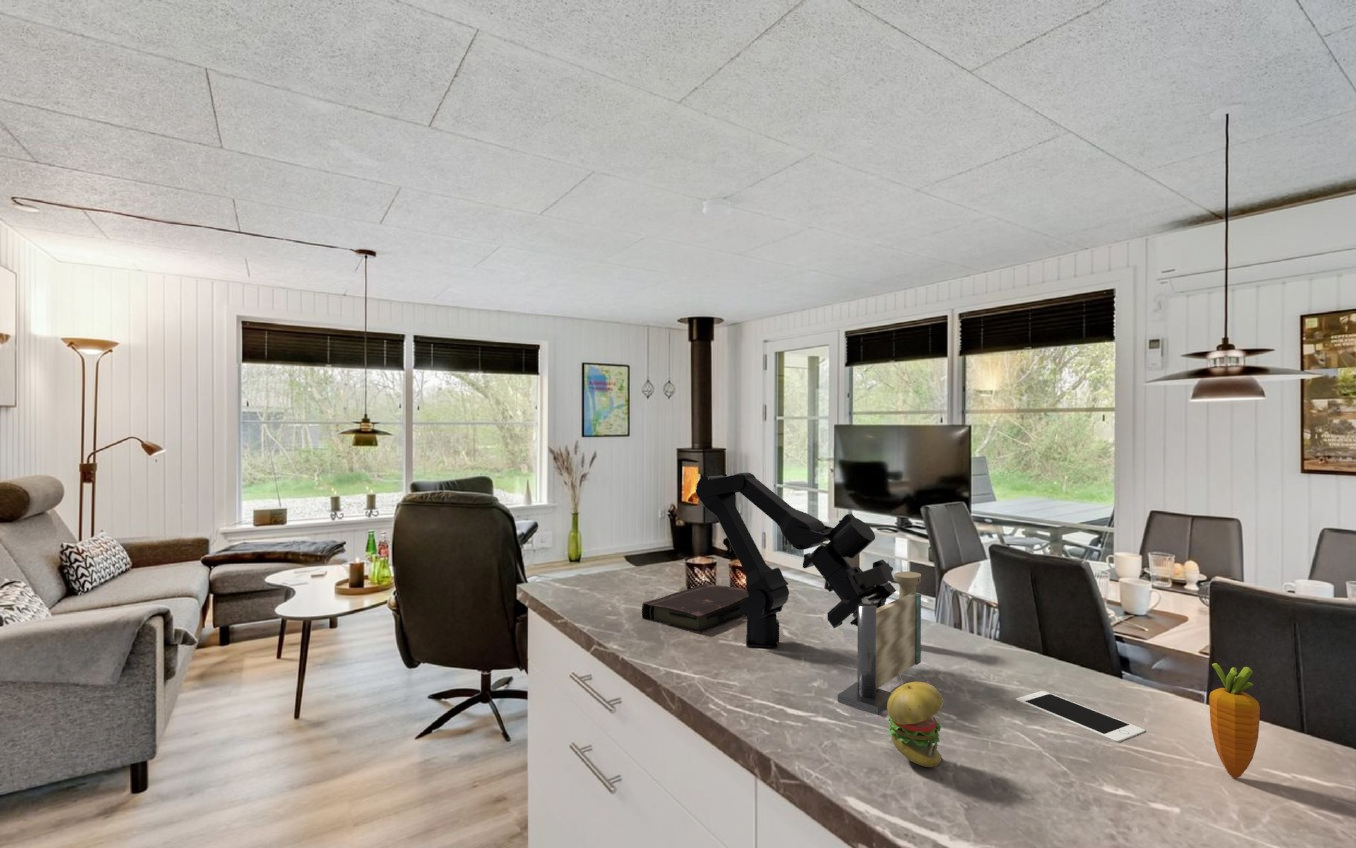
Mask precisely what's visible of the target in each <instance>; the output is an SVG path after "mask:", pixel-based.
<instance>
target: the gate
mask: <svg viewBox="0 0 1356 848" xmlns="http://www.w3.org/2000/svg"><path fill="white" fill-rule="evenodd" d="M921 643H922V593H919V592H918V593H917V592H916V593H913V592H911V593H909V594H908V595H907V596H904V597H902V598H900V599H899V598H898V599H895V600H893V601H890V602H888V603H885V605H884V606H881V607H879V608H877V609H876V689H880V688H881V687H882V686H884V685H885V684H887V683H888V682H890V681H892V680H893V679H896V677H897V676H900V675H901V674H903V673H904V672H906V671H908V670H909V669H910V668H913V667H914V666H918V665H919V664H921V662H922V661H921V659H922V657H921V656H922V655H921V654H922V650H921V649H922V648H921V647H922V644H921ZM899 673H900V675H899Z"/></svg>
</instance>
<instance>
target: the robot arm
mask: <svg viewBox="0 0 1356 848" xmlns="http://www.w3.org/2000/svg"><path fill="white" fill-rule="evenodd" d="M737 493H740V494H741V495H742V496H743V497H745V498H746V499H747V500H748V501H750V502H751V503H752V504H753V505H754V506H755V507H756V508H758V509H759V510H760V511H762V512H763V513H764V514H765V515H766V516H767V517H768V518H770V519H771V520H772V521H773V522H774V523H776V525H777V526H778V527H779V529H780V532H781V534H782V536H783V537H784V538H785V539H786V540H787V542H788V543H789V544H791V545H790V546H792V547H793V548H795V549H796V550H798V551H800V550H801V551H803V550H808V549H811V548H815V547H816V548H815V550H813V551H812V552H811V553H810V552H808V553H805V554H803V562H802V568H803V569H807V568H811V567H815V569H816V570H817V571H818V572H819V573H820V575H821V576H822V578H823V579H824V581H826V583H827V584H828V586H826V590H827V591H828V592H829V593H830V592H834V593H835V594H836V596H837V597H838V598H839V599H840V601H839V602H838V603H837V604H836V605H835V606H834V607H832V608H831V609H830V610H829V611H828V612H827V621H828V623H829V624H830V625H831V626H832V627H833V629H836V628H838V627H840V626H842V625H843V622H844V621H845V620H846V619H847V618H849V616H851V614H852V618H853V619H852V620H851V621H850V622H849V624H850V625H854V626H856V627H858V604H863V603H866V604H872V605H875V606H876V609H877V608H879V607H881V606H884V605H886V602H887V600H888V598H890V597H891V596H892V595H893V594H895V593H896V591H897V589H896V588H895V587H894V586H893V584H891V581H895V580H894V576H893V571H894V568H893V567H892V566H891V565H890V564H889V562H886V560H884V559H879V560H877V561H874V562H873V563H872V568H870V569H869V568H868V569H866V570H864V571H863V570H862V568H861V567H859V566H857V565H856V566H852V565H851V564H850V563H849V561H848V560H847V559H846V558H849V559H855V558H856V557H857V556H858V555H860V554H861V553H862V552H863V551H864V550H865V549H866V548H867V547H868V546H869V545H871V544H872V542H874V541H875V540H876V535H875V532H874V531H873V529H872V528H871V527H870V526H869V524H867V523H865V522H864V521H863V520H861V519H859V518H857V517H855V515H854V514H853V513H847V514H845V515H844V516H843V517H842V518H841V520H840V521H839V522H838V523H837V524H836V525H835V526H834V527H832V526H829V525H825V524H824V523H823V522H822V520H820V519H818V518H816V517H814V516H813V515H811V514H809V513H807V512H804V511H801V510H798V509H797V508H795V507H793V506H792V505H790V504H789V503H787V501H785V500H784V499H782V498H781V497H780V496H779V495H778V494H776V493H775V492H774V491H773V490H772V489H770V488H769V487H767V486H766V485H765V484H764V483H762V481H760V480H759V479H758V478H756V476H755V475H754V473H751V472H738V473H735V474H731V475H727V476H725V475H711V476H703V477H701V478H700V479H698V481H697V484H696V488H695V494H696V496H697V498H698V499H699V501H700V503H701V504H702V505H703V507H705V508H706V509H707V510H708V511H709V512H710V513H712V514H713V515H714V516H715V517H716V518H717V520H718V522H719V524H720V526H721V528H722V531H723V532H724V535H725V536H726V538H727V540H728V541H729V544H730V546H731V548H732V550H733V551H734V554H735V556H736V558H737V559H738V561H739V564H740V566H741V567H742V569H743V571H744V573H745V587H746V588H745V590H747V592H748V595H749V597H748V598H747V599H746V600H745V601H744V602H743V603H742V604H741V605H740V606H739V608H740V611H741V615H742V616H741V617H744V618H746V635H745V646H746V647H748V648H749V647H750V648H751V647H752V648H769V649H771V648H772V649H777V648H778V643H779V642H780V620H779V619H777V613H780V612H782V610H783V608H784V605H785V604H787V602H788V599H789V595H790V592H789V591H790V590H789V587H788V585H789V582H787V580H786V579H785V578H784V575H783V572H782V570H781V569H780V567H774V568H771V566H769V565H768V564H767V563H766V561H765V559H764V558H763V556H762V553H761V552H760V550H759V548H758V546H757V544H756V543H755V541H754V539H753V537H752V535H751V532H750V531H749V529H748V527H747V525H746V524H745V521H744V520H743V518H742V516H741V514H740V512H739V510H738V508H737V505H736V504H737V501H736V500H737V497H736V496H737ZM828 541H829V542H828ZM824 542H825V543H826V542H828V543H826V544H825V545H823V543H824Z"/></svg>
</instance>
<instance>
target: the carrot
mask: <svg viewBox="0 0 1356 848" xmlns="http://www.w3.org/2000/svg"><path fill="white" fill-rule="evenodd" d="M1211 666H1212V668H1213V669H1214V671H1216V674H1217V675H1218V677H1219V678H1220V681H1221V682H1222V684H1223V686H1224V687H1220V688H1219V687H1218V688H1216V689H1214V690H1212V691H1210V693H1209V698H1208V699H1209V701H1208V702H1209V716H1210V720H1209V721H1210V729H1211V732H1212V733H1211V734H1212V738H1213V742H1214V746H1215V750H1216V752H1217V755H1218V757H1219V760H1220V761H1221V763H1222V765H1223V767H1224V769H1225V771H1226V772H1227V773H1228V775H1229V776H1230V777H1231V778H1232V779H1234V780H1236V779H1238V778H1241V776H1242V775H1243V774H1244V773H1245V772H1246V770H1247V769H1249V766H1250V764H1251V763H1252V761H1253V758H1254V755H1255V752H1256V748H1257V744H1258V740H1259V733H1260V732H1259V731H1260V718H1261V717H1260V716H1261V715H1260V714H1261V713H1260V711H1261V707H1260V703H1259V701H1258V700H1256V698H1254V697H1253V696H1251V695H1250V694H1249V693H1247V692H1245V690H1247V689H1249V688H1251V687H1253V686H1254V684H1253V682H1250V681H1248V680H1249V678H1250V677H1251V675H1252V674H1253V673H1254V672H1253V670H1252V669H1251V668H1250V667H1249V666H1244V667H1242V669H1241V671H1240V672H1239V673H1238V671H1237V670H1238V668H1236V667H1233V666H1232V667H1231V668H1230V671H1229V672H1228V674H1227V675H1226V674H1225V672H1224V671H1223V669H1222V668H1221V666H1220V665H1219V663H1217V662H1215V663H1211ZM1237 674H1238V675H1237Z"/></svg>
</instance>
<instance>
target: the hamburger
mask: <svg viewBox="0 0 1356 848" xmlns="http://www.w3.org/2000/svg"><path fill="white" fill-rule="evenodd" d="M898 676H899V678H900V680H901V683H902V684H901V685H900V686H898V687H896V688H895V689H894V690H893V691H892V694H891V695H890V697H889V699H888V702H887V708H886V709H887V714H888V719H887V721H888V722H890V724H889V728H888V732H889V733H890V737H891V741H892V744H893V745H894V747H895V748H896V749H897V751H898V752H899V753H900V754H901V755H903V756H904V757H905V758H906V759H907V760H909V761H910V762H913V763H914V764H917V766H922V767H925V768H934V767H936V766H938V765H939V763H940V762H941V759H942V754H941V753H940V751H938V743H940V734H939V732H940V731H941V729H942V724H941V723H940V722H938V720H937V719H936V718H935V717H934V716H935V715H936V716H939V712H940V710H941V709H942V706H943V703H944V699H943V695H942V694H941V693H940V691H938V688H936V687H935V686H933V685H932V684H929V683H928V682H923V681H912V682H906V683H903V679H902V676H901V674H900V673H899V675H898Z"/></svg>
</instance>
